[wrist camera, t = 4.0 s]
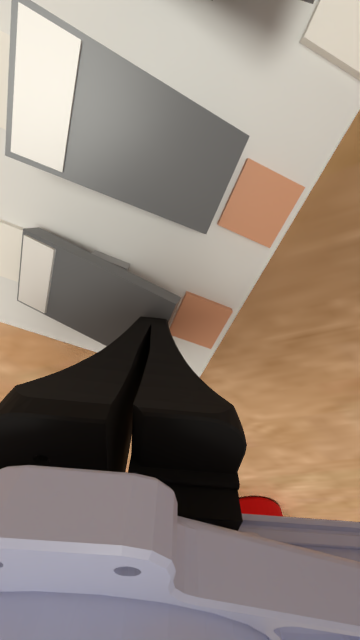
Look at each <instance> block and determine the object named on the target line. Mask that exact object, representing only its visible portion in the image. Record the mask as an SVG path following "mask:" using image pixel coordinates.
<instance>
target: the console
mask: <svg viewBox="0 0 360 640" xmlns="http://www.w3.org/2000/svg"><path fill="white" fill-rule="evenodd" d="M11 1H12V0H0V322H2V323H6V324H9V325H12V326H15V327H18V328H21V329H25V330H28V331H31V332H34V333H37V334H40V335H44V336H47V337H50V338H53V339H56V340H59V341H63V342H66V343H69V344H72V345H75V346H78V347H81V348H85V349H88V350H91V351H94V352H97V353H98V352H99V351H101V350H102V349H104V348H105V347H107V346H105V345H103V344H101V343H99V342H97V341H95V340H93V339H91V338H89V337H88V336H86V335H84V334H82V333H80V332H78V331H76V330H74V329H72V328H70V327H68V326H66V325H64V324H62V323H60V322H58V321H56V320H54V319H52V318H50V317H48V316H46V315H44V314H42V313H40V312H38V311H36V310H34V309H32V308H30V307H28V306H27V305H25V304H23V303H21V302H19V301H17V294H18V282H19V270H20V258H21V246H22V234H23V229H24V228H37V227H39V228H41V229H43V230H45V231H48V232H50V233H52V234H54V235H56V236H58V237H60V238H62V239H64V240H66V241H68V242H70V243H72V244H74V245H76V246H78V247H80V248H82V249H84V250H86V251H88V252H90V253H92V254H94V255H96V256H98V257H100V258H102V259H104V260H106V261H108V262H111V263H113V264H115V265H117V266H119V267H121V268H123V269H125V270H127V271H129V272H131V273H133V274H135V275H137V276H139V277H141V278H143V279H145V280H147V281H149V282H151V283H153V284H155V285H157V286H159V287H161V288H163V289H165V290H167V291H169V292H171V293H174V294H176V295H178V296H180V297H181V300H180V302H179V304H178V306H177V309H176V311H175V313H174V315H173V317H172V320H171V322H170V324H169V329H170V332H171V335H172V337H173V339H174V341H175V344H176V346H177V347H178V349H179V351H180V353H181V354H182V356H183V358H184V359H185V361H186V362H187V363H188V365H189V366H190V367H191V369H192V370H193V371H194V372H195V373H196V375H197V376H198V377H199V378H200V376H201V374H202V372H203V371H204V369H205V367H206V366H207V364H208V362H209V361H210V359H211V357H212V356H213V354H214V352H215V351H216V349H217V347H218V346H219V344H220V342H221V341H222V339H223V337H224V336H225V334H226V332H227V331H228V329H229V327H230V326H231V324H232V322H233V321H234V319H235V317H236V316H237V314H238V312H239V311H240V309H241V307H242V305H243V304H244V302H245V300H246V299H247V297H248V295H249V294H250V292H251V290H252V289H253V287H254V285H255V284H256V282H257V280H258V279H259V277H260V275H261V274H262V272H263V270H264V269H265V267H266V265H267V264H268V262H269V260H270V259H271V257H272V255H273V254H274V252H275V250H276V249H277V247H278V245H279V244H280V242H281V240H282V238H283V237H284V235H285V233H286V232H287V230H288V228H289V227H290V225H291V223H292V222H293V220H294V218H295V217H296V215H297V213H298V212H299V210H300V208H301V207H302V205H303V203H304V202H305V200H306V198H307V197H308V195H309V193H310V192H311V190H312V188H313V187H314V185H315V183H316V182H317V180H318V178H319V177H320V175H321V173H322V171H323V170H324V168H325V166H326V165H327V163H328V161H329V160H330V158H331V156H332V155H333V153H334V151H335V150H336V148H337V146H338V145H339V143H340V141H341V140H342V138H343V136H344V135H345V133H346V131H347V130H348V128H349V126H350V125H351V123H352V121H353V120H354V118H355V116H356V115H357V113H358V111H359V110H360V0H315V1H314V3H313V4H311V3H308V2H305V1H301V0H31V1H33V2H34V3H36V4H38V5H39V6H41V7H42V8H44V9H46V10H47V11H49V12H51V13H52V14H54V15H55V16H57V17H59V18H60V19H62V20H63V21H65V22H67V23H68V24H70V25H72V26H73V27H75V28H76V29H78V30H80V31H81V32H83V33H84V34H86V35H88V36H89V37H91V38H92V39H94V40H96V41H97V42H99V43H101V44H102V45H104V46H105V47H107V48H109V49H110V50H112V51H113V52H115V53H117V54H118V55H120V56H121V57H123V58H125V59H126V60H128V61H130V62H131V63H133V64H134V65H136V66H138V67H139V68H141V69H142V70H144V71H146V72H147V73H149V74H150V75H152V76H154V77H155V78H157V79H159V80H160V81H162V82H163V83H165V84H167V85H168V86H170V87H171V88H173V89H175V90H176V91H178V92H179V93H181V94H183V95H184V96H186V97H188V98H189V99H191V100H192V101H194V102H196V103H197V104H199V105H200V106H202V107H204V108H205V109H207V110H209V111H210V112H212V113H213V114H215V115H217V116H218V117H220V118H221V119H223V120H225V121H226V122H228V123H229V124H231V125H233V126H234V127H236V128H238V129H239V130H241V131H242V132H244V133H246V134H247V135H249V136H250V137H249V139H248V141H247V143H246V146H245V148H244V150H243V152H242V155H241V157H240V159H239V161H238V164H237V166H236V168H235V170H234V173H233V175H232V177H231V179H230V182H229V184H228V186H227V189H226V191H225V193H224V195H223V198H222V200H221V202H220V204H219V207H218V209H217V211H216V213H215V216H214V218H213V220H212V222H211V225H210V227H209V229H208V231H207V234H203V233H201V232H198V231H196V230H193V229H191V228H188V227H186V226H183V225H180V224H178V223H175V222H173V221H170V220H168V219H165V218H163V217H160V216H158V215H155V214H153V213H150V212H147V211H145V210H142V209H140V208H137V207H135V206H132V205H130V204H127V203H125V202H122V201H119V200H117V199H114V198H112V197H109V196H107V195H104V194H102V193H99V192H97V191H94V190H91V189H89V188H86V187H84V186H81V185H79V184H76V183H74V182H71V181H69V180H66V179H64V178H61V177H58V176H56V175H53V174H51V173H48V172H46V171H43V170H41V169H38V168H36V167H33V166H30V165H28V164H25V163H23V162H20V161H18V160H15V159H13V158H10V157H8V156H5V143H6V119H7V95H8V72H9V48H10V25H11Z"/></svg>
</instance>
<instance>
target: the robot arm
mask: <svg viewBox="0 0 360 640" xmlns="http://www.w3.org/2000/svg"><path fill="white" fill-rule="evenodd" d="M131 436H132V453H131V460H130V465H129V470H128V473H125V471H126V465H127V459H128V453H129V448H130V442H131ZM246 446H247V444H246V439H245V434H244V431H243V428H242V425H241V422H240V420H239V417H238V415H237V413H236V410H235V408H234V406H233V405H232V404H230V403H229V402H228V401H226V400H225V399H224V398H222V397H221V396H220V395H218V394H217V393H216V392H214V391H213V390H212V389H211V388H210V387H209V386H207V385H206V384H205V383H204V382H203V381H202V380H201V379H200V378H199V377H198V376H197V375H196V373H195V372H194V371H193V370H192V369H191V367H190V366H189V365H188V363H187V362H186V361H185V359H184V358H183V356H182V354H181V353H180V351H179V349H178V347H177V346H176V344H175V341H174V339H173V337H172V335H171V332H170V329H169V325H168V321H167V320H166V319H161V318H152V317H142V316H141V317H139V318H138V319H137V320H136V321H135V322H134V323H133V324H132V325H131V326H130V327H129V328H128V329H127V330H126V331H125V332H124V333H123V334H122V335H120V336H119V337H118V338H117V339H116V340H114V341H113V342H112V343H111V344H109V345H108V346H107V347H105V348H104V349H102V350H101V351H99V352H98V353H96V354H94V355H93V356H91V357H89V358H87V359H85V360H83V361H81V362H79V363H77V364H75V365H73V366H71V367H68V368H66V369H64V370H61V371H59V372H56V373H54V374H51V375H48V376H45V377H42V378H39V379H36V380H33V381H30V382H27V383H23V384H20V385H16V386H15V387H14V388H13V389H12V390H11V391H10V392H9V394H8V395H7V396H6V397H5V398H4V399H3V400H2V402H1V403H0V640H360V522H352V521H338V520H324V519H310V518H296V517H282V516H268V515H254V514H242V513H241V507H240V502H239V496H238V489H239V485H240V484H239V478H238V473H237V472H238V469H239V467H240V464H241V462H242V459H243V457H244V455H245V451H246Z"/></svg>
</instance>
